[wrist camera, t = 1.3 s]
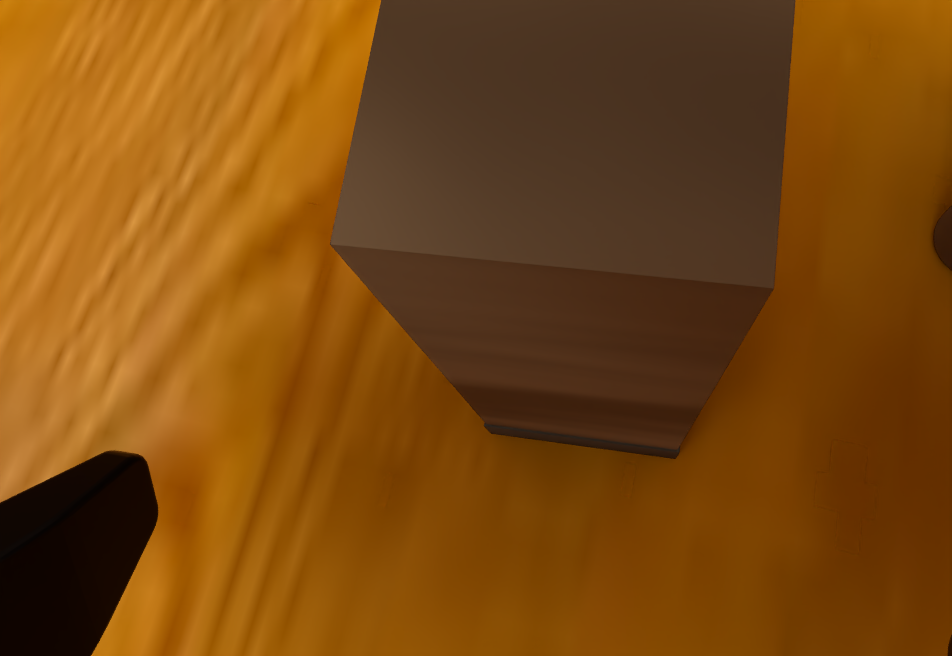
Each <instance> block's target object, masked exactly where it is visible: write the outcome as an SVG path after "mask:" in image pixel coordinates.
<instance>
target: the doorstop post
mask: <svg viewBox="0 0 952 656" xmlns="http://www.w3.org/2000/svg"><path fill="white" fill-rule="evenodd" d="M794 11H795V0H381V5H380V9H379V14H378V19H377V24H376V28H375V33H374V38H373V43H372V47H371V52H370V57H369V61H368V66H367V71H366V76H365V80H364V85H363V90H362V95H361V99H360V104H359V109H358V114H357V118H356V123H355V128H354V133H353V137H352V142H351V147H350V152H349V156H348V161H347V166H346V171H345V175H344V180H343V185H342V190H341V194H340V199H339V204H338V209H337V213H336V218H335V223H334V228H333V232H332V237H331V242H330V245H331V246H332V247H333V248H334V249H335V251H336V252H337V253H338V254H339V255H340V256H341V258H342V259H343V260H344V261H345V262H346V263H347V264H348V266H349V267H350V268H351V269H352V270H353V271H354V272H355V274H356V275H357V276H358V277H359V278H360V279H361V280H362V282H363V283H364V284H365V285H366V286H367V287H368V289H369V290H370V291H371V292H372V293H373V294H374V295H375V297H376V298H377V299H378V300H379V301H380V302H381V303H382V305H383V306H384V307H385V308H386V309H387V310H388V311H389V313H390V314H391V315H392V316H393V317H394V318H395V320H396V321H397V322H398V323H399V324H400V325H401V326H402V328H403V329H404V330H405V331H406V332H407V333H408V334H409V336H410V337H411V338H412V339H413V340H414V341H415V343H416V344H417V345H418V346H419V347H420V348H421V349H422V351H423V352H424V353H425V354H426V355H427V356H428V357H429V359H430V360H431V361H432V362H433V363H434V364H435V365H436V367H437V368H438V369H439V370H440V371H441V372H442V374H443V375H444V376H445V377H446V378H447V379H448V380H449V382H450V383H451V384H452V385H453V386H454V387H455V388H456V390H457V391H458V392H459V393H460V394H461V395H462V397H463V398H464V399H465V400H466V401H467V402H468V403H469V405H470V406H471V407H472V408H473V409H474V410H475V411H476V413H477V414H478V415H479V416H480V417H481V418H482V419H483V421H484V422H485V424H484V426H485V427H486V429H487V430H488V431H489V432H490V433H491V434H498V435H506V436H513V437H520V438H528V439H535V440H542V441H549V442H557V443H564V444H571V445H578V446H586V447H593V448H600V449H608V450H615V451H622V452H629V453H637V454H644V455H651V456H659V457H666V458H673V459H676V457H677V455H678V454H679V450H680V445H681V443H682V441H683V440H684V438H685V436H686V434H687V433H688V431H689V429H690V428H691V426H692V424H693V423H694V421H695V419H696V418H697V416H698V414H699V413H700V411H701V409H702V408H703V406H704V404H705V403H706V401H707V399H708V398H709V396H710V394H711V393H712V391H713V389H714V388H715V386H716V384H717V383H718V381H719V379H720V378H721V376H722V374H723V373H724V371H725V369H726V368H727V366H728V364H729V363H730V361H731V359H732V358H733V356H734V354H735V352H736V351H737V349H738V347H739V346H740V344H741V342H742V341H743V339H744V337H745V336H746V334H747V332H748V331H749V329H750V327H751V326H752V324H753V322H754V321H755V319H756V317H757V316H758V314H759V312H760V311H761V309H762V307H763V306H764V304H765V302H766V301H767V299H768V297H769V296H770V294H771V292H772V291H773V289H774V280H775V266H776V253H777V239H778V226H779V212H780V199H781V185H782V172H783V159H784V145H785V132H786V118H787V105H788V91H789V78H790V64H791V51H792V37H793V24H794Z"/></svg>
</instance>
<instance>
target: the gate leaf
mask: <svg viewBox="0 0 952 656" xmlns="http://www.w3.org/2000/svg"><path fill="white" fill-rule="evenodd" d="M934 244H935V248H936V251H937V253H938V255H939V257H940V258H941V260H942V261H943V262H944V263H945V264H946V265H947V266H948V267H949V268H950V269H951V270H952V206H951V207H950V208H949V209H948V210H947V211H946V212H945V213H944V214H943V215H942V217H941V218H940V219H939V221H938V222H937V225H936V227H935V231H934Z"/></svg>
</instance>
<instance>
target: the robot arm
mask: <svg viewBox="0 0 952 656" xmlns="http://www.w3.org/2000/svg"><path fill="white" fill-rule="evenodd" d="M157 518H158V504H157V500H156V496H155V492H154V488H153V484H152V479H151V475H150V471H149V467H148V464H147V461H146V460H145V459H144V458H143V456H141V455H139V454H135V453H128V452H122V451H106V452H104V453H101V454H99V455H97V456H95V457H93V458H91V459H89V460H87V461H85V462H83V463H81V464H79V465H77V466H75V467H73V468H71V469H69V470H66V471H64V472H62V473H60V474H58V475H56V476H54V477H52V478H50V479H48V480H46V481H44V482H42V483H40V484H38V485H36V486H34V487H32V488H29V489H27V490H25V491H23V492H21V493H19V494H17V495H15V496H13V497H11V498H9V499H7V500H5V501H3V502H1V503H0V656H91V655H92V653H93V651H94V650H95V648H96V646H97V644H98V643H99V641H100V639H101V637H102V635H103V633H104V631H105V629H106V628H107V626H108V624H109V622H110V620H111V618H112V616H113V613H114V611H115V609H116V607H117V605H118V603H119V601H120V599H121V597H122V595H123V593H124V591H125V589H126V586H127V584H128V582H129V580H130V578H131V576H132V574H133V572H134V570H135V568H136V566H137V564H138V562H139V560H140V557H141V555H142V553H143V551H144V549H145V547H146V545H147V543H148V541H149V539H150V537H151V535H152V533H153V530H154V528H155V526H156V522H157ZM948 656H952V635H951V638H950V641H949V646H948Z"/></svg>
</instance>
